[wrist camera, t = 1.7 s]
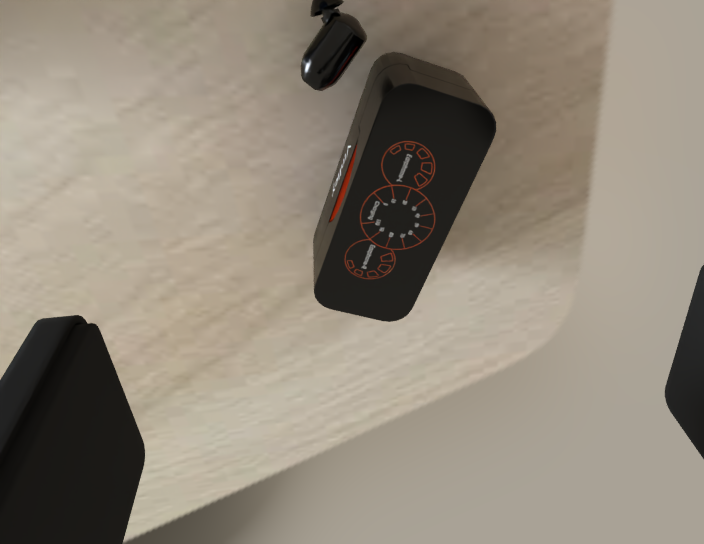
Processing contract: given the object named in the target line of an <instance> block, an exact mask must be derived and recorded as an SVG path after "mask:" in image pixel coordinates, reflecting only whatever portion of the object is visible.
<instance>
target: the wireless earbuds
mask: <svg viewBox="0 0 704 544" xmlns="http://www.w3.org/2000/svg"><path fill="white" fill-rule="evenodd" d="M343 2H344V1H343V0H313V2H312V6H311V17H314V16H318V15H320V14H323V17H322V18H321V19H322V21H323V23H324V25H323V26H322V28H321V29H320V31H319V32H318V34H317V35H316V37H315V38H314V40H313V41H312V43H311V44H310V46H309V47H308V49H307V50H306V52H305V53H304V55H303V58H302V62H301V77H302V79H303V81H304V82H306V83H307V84H308V85H309V86H311V87H312V88H313V89H315V90H318V91H323V90H325V89H327V88H329V87H331V86H333V85H335V84H336V83H337V81H338V80H339V79H340V78H341V77H342V75H343V74H344V72H345V71H346V69H347V68H348V66H349V65H350V64H351V62H352V61H353V59H354V58H355V56H356V55H357V53H358V52H359V51H360V49H361V48H362V46H363V45H364V43H365V42H366V40H367V35H366V33H365V31H364V29H363V28H362V26H361V24H360V23H359V21H358V20H357V19H356V18H354V17H353V16H351V15H349V14H345V13H342V12H340V11H339V9H334V8H336V7H338V6H339V5H341V4H342V3H343ZM495 133H496V121H495V118H494V116H493V114H492V112H491V111H490V110H489V109H488V107H487V106H486V105H485V103H484V102H483V101H482V99H481V98H480V97H479V95H478V94H477V93H476V92H475V90H474V89H473V88H472V86H471V85H470V84H469V82H468V81H467V80H466V79H465V78H464V77H463V76H462V75H461V74H459V73H457V72H455V71H452V70H449V69H446V68H443V67H440V66H437V65H434V64H431V63H428V62H425V61H422V60H419V59H416V58H413V57H410V56H407V55H405V54H402V53H395V52H391V53H386V54H384V55H382V56H380V57H379V58H378V59H377V60H376V61H375V62H374V64H373V66H372V68H371V70H370V73H369V76H368V79H367V82H366V85H365V88H364V91H363V94H362V96H361V99H360V102H359V105H358V108H357V111H356V114H355V117H354V120H353V123H352V126H351V129H350V132H349V135H348V137H347V140H346V143H345V146H344V149H343V152H342V155H341V158H340V161H339V164H338V167H337V170H336V173H335V176H334V178H333V181H332V184H331V187H330V190H329V193H328V196H327V199H326V202H325V205H324V208H323V211H322V214H321V217H320V219H319V222H318V225H317V228H316V231H315V234H314V240H313V259H314V294H315V298H316V299H317V301H318V302H319V303H320V304H321V305H323V306H324V307H326V308H329V309H332V310H337V311H341V312H346V313H350V314H354V315H359V316H363V317H368V318H372V319H376V320H381V321H388V322H391V321H397V320H399V319H402V318H404V317H405V316H406V315H408V314H409V312H410V311H411V310H412V308H413V306H414V304H415V302H416V300H417V297H418V295H419V293H420V291H421V289H422V287H423V285H424V283H425V281H426V279H427V277H428V275H429V272H430V270H431V268H432V266H433V264H434V262H435V260H436V258H437V256H438V254H439V252H440V250H441V247H442V245H443V243H444V241H445V239H446V237H447V235H448V233H449V231H450V229H451V227H452V225H453V222H454V220H455V218H456V216H457V214H458V212H459V210H460V208H461V206H462V204H463V202H464V199H465V197H466V195H467V193H468V191H469V189H470V187H471V185H472V183H473V181H474V179H475V177H476V174H477V172H478V170H479V168H480V166H481V164H482V162H483V160H484V158H485V156H486V154H487V152H488V149H489V147H490V145H491V143H492V141H493V139H494V136H495Z"/></svg>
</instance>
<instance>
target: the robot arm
mask: <svg viewBox="0 0 704 544" xmlns="http://www.w3.org/2000/svg"><path fill="white" fill-rule="evenodd" d="M665 398H666V403H667V405H668V408H669V409H670V411H671V413H672V414H673V416H674V417H675V419H676V420H677V421H678V423H679V424H680V426H681V427H682V429H683V430H684V431H685V433H686V434H687V436H688V437H689V439H690V440H691V442H692V443H693V444H694V446H695V447H696V449H697V450H698V452H699V453H700V454H701V456H702V457H703V459H704V265H703V266H702V268H701V270H700V273H699V276H698V279H697V283H696V286H695V289H694V293H693V296H692V300H691V303H690V306H689V310H688V313H687V316H686V320H685V323H684V326H683V330H682V333H681V337H680V340H679V343H678V347H677V350H676V353H675V357H674V360H673V363H672V367H671V370H670V374H669V377H668V380H667V384H666V387H665ZM144 462H145V448H144V443H143V440H142V437H141V434H140V432H139V429H138V427H137V424H136V422H135V419H134V417H133V414H132V411H131V409H130V406H129V404H128V401H127V399H126V396H125V393H124V391H123V388H122V386H121V383H120V381H119V378H118V376H117V373H116V370H115V368H114V365H113V363H112V360H111V358H110V355H109V352H108V350H107V347H106V345H105V342H104V340H103V337H102V335H101V332H100V330H99V328H98V326H97V325H96V324H93V323H90V324H87V322H86V320H85V319H84V318H83V317H82V316H79V315H74V316H64V317H54V318H44V319H40V320H38V321H37V322H36V323H35V324H34V326H33V327H32V329H31V331H30V332H29V334H28V336H27V337H26V339H25V341H24V342H23V344H22V345H21V347H20V349H19V350H18V352H17V354H16V355H15V357H14V359H13V360H12V362H11V363H10V365H9V367H8V368H7V370H6V372H5V373H4V375H3V377H2V378H1V380H0V544H122V543H123V540H124V536H125V532H126V529H127V525H128V521H129V518H130V514H131V510H132V507H133V503H134V499H135V496H136V492H137V488H138V485H139V481H140V478H141V474H142V470H143V467H144Z"/></svg>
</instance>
